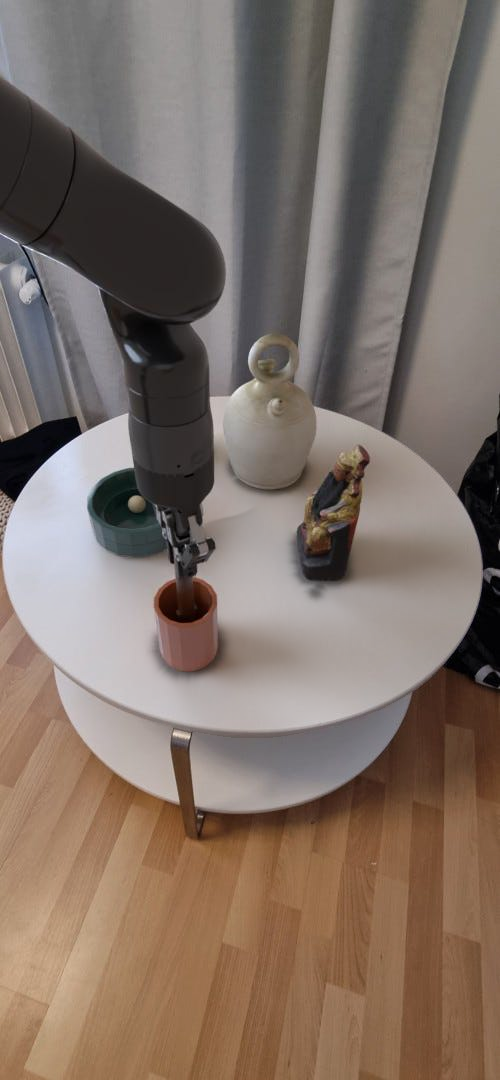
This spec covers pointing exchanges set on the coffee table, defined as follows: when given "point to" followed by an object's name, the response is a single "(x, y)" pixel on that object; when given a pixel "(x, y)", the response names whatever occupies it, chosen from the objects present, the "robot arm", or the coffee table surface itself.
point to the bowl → (123, 517)
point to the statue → (332, 518)
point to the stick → (185, 599)
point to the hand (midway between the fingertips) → (182, 567)
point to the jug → (269, 421)
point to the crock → (187, 627)
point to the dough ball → (136, 504)
